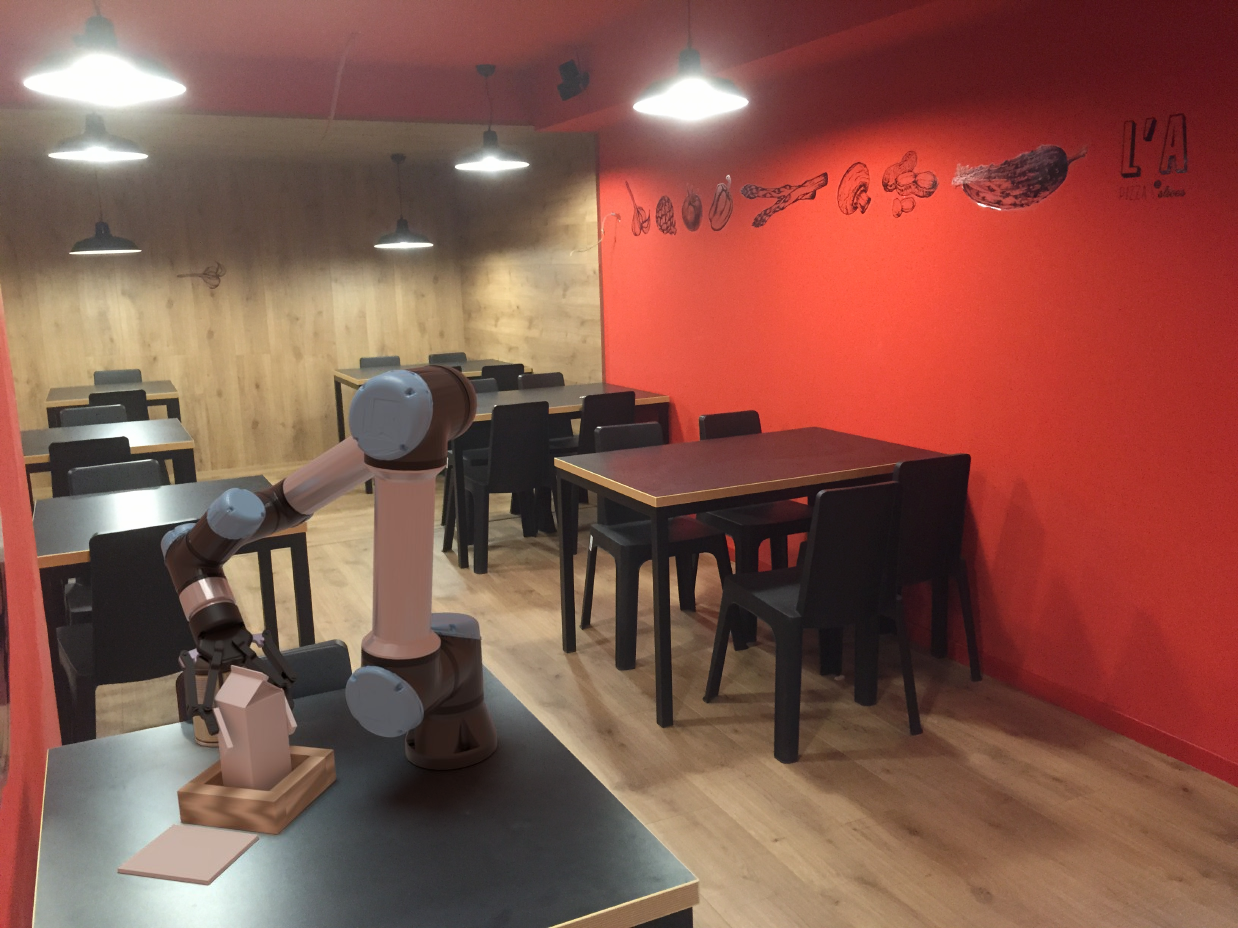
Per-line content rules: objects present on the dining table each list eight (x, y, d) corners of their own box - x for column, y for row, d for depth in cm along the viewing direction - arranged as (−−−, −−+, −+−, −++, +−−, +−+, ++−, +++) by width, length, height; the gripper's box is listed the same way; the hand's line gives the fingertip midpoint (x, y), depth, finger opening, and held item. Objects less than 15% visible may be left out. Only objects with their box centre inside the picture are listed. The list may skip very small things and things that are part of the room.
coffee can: (212, 720, 176) (204, 646, 173) (267, 721, 174) (259, 647, 172) (182, 746, 165) (172, 669, 163) (239, 747, 164) (231, 669, 162)
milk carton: (254, 804, 142) (242, 681, 139) (223, 793, 145) (210, 673, 142) (293, 783, 148) (282, 665, 145) (262, 773, 151) (250, 657, 148)
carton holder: (336, 778, 153) (333, 749, 152) (277, 834, 137) (274, 801, 136) (247, 769, 157) (244, 740, 156) (180, 822, 141) (177, 790, 140)
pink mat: (258, 838, 136) (258, 834, 136) (208, 884, 126) (207, 880, 126) (173, 827, 140) (173, 824, 140) (117, 872, 129) (117, 868, 129)
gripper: (275, 609, 161) (324, 728, 152) (136, 643, 147) (181, 776, 138) (284, 585, 156) (336, 706, 147) (141, 617, 142) (189, 754, 133)
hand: (261, 740), depth 143 cm, fingers closed on milk carton, 9 cm apart
